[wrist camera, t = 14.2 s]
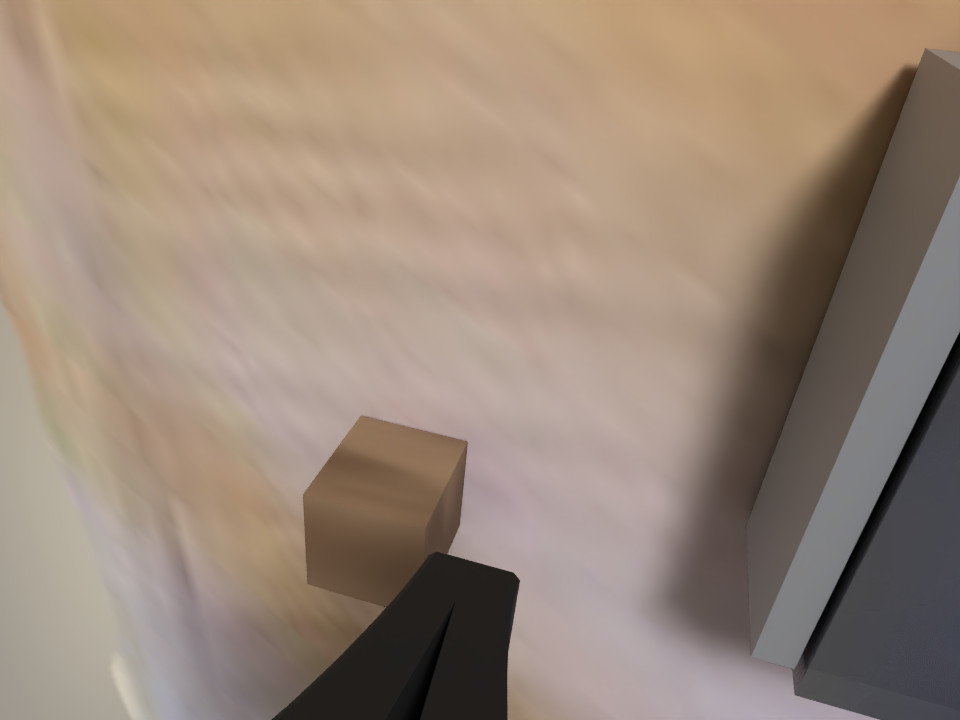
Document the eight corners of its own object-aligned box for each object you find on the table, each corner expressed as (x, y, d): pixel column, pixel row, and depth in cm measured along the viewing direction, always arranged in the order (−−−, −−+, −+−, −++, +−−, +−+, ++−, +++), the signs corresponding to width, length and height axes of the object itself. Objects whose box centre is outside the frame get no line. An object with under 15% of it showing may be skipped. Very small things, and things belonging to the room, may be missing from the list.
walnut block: (459, 525, 25) (419, 616, 22) (360, 499, 26) (307, 583, 23) (467, 441, 23) (425, 527, 20) (360, 415, 24) (302, 494, 21)
